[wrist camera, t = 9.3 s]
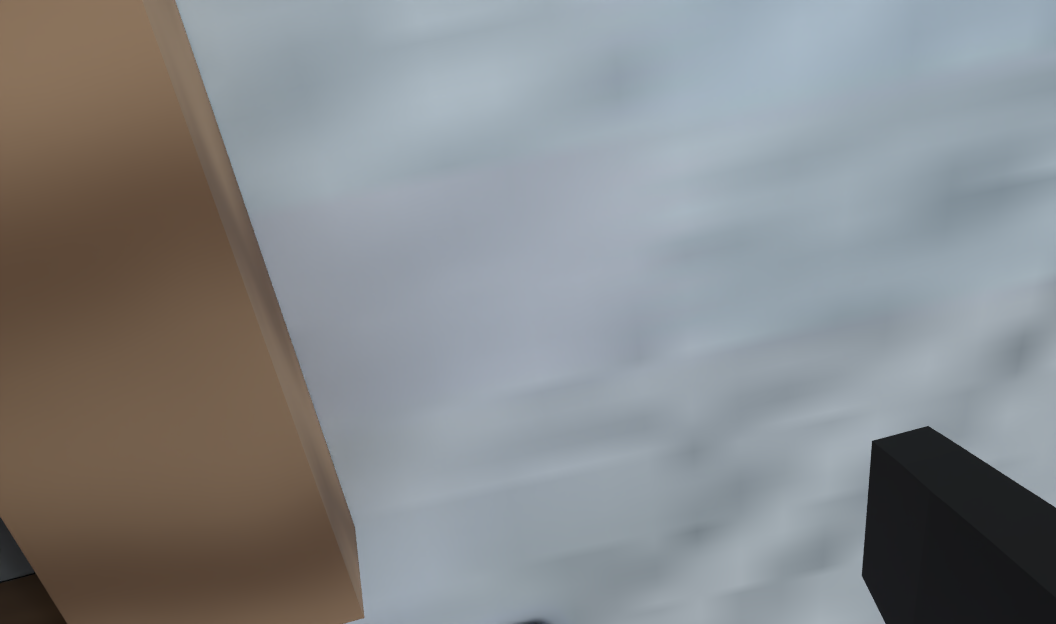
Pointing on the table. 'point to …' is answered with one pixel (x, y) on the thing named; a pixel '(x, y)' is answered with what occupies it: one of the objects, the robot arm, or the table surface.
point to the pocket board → (146, 348)
